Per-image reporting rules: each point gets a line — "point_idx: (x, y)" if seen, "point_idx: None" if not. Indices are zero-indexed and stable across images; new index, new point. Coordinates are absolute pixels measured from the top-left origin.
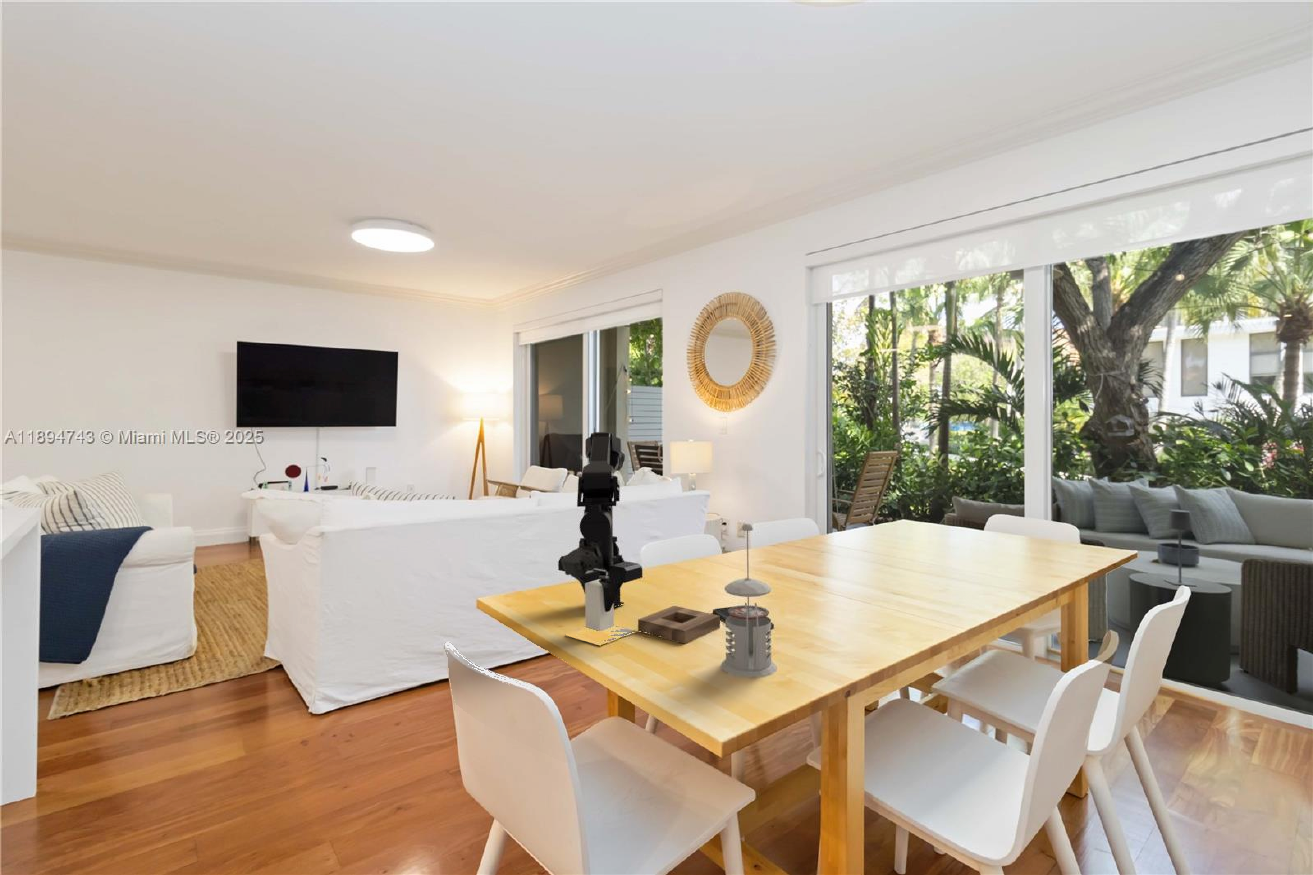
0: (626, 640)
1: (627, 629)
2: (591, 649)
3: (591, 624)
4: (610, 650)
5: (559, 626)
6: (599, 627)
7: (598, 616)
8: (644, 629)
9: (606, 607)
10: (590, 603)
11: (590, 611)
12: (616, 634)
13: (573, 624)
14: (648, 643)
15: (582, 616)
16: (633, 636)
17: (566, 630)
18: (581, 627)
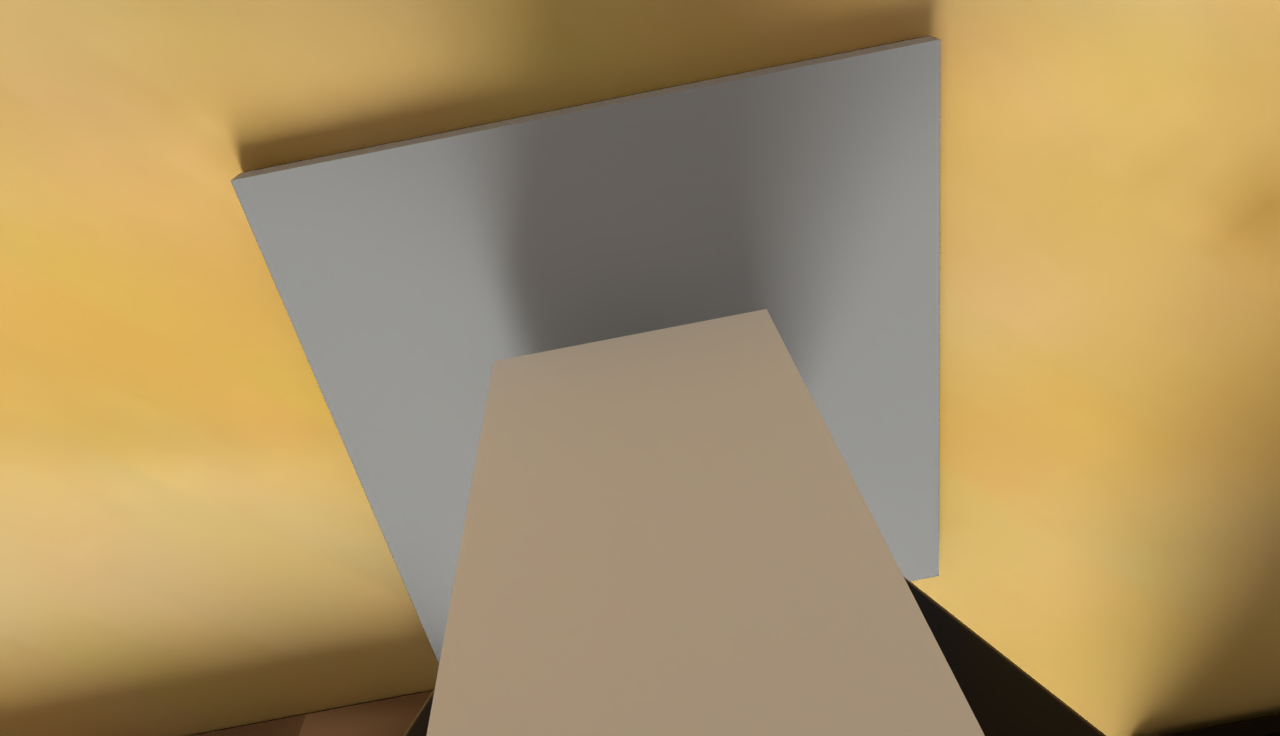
0: (287, 499)
1: None
2: (210, 17)
3: (658, 361)
4: (44, 195)
5: (1265, 199)
6: (496, 386)
7: (501, 477)
8: (371, 731)
9: (433, 693)
10: (722, 580)
11: (703, 472)
12: (458, 501)
13: (1157, 360)
14: (78, 599)
15: (1244, 548)
16: (361, 599)
17: (1079, 183)
18: (1001, 372)
